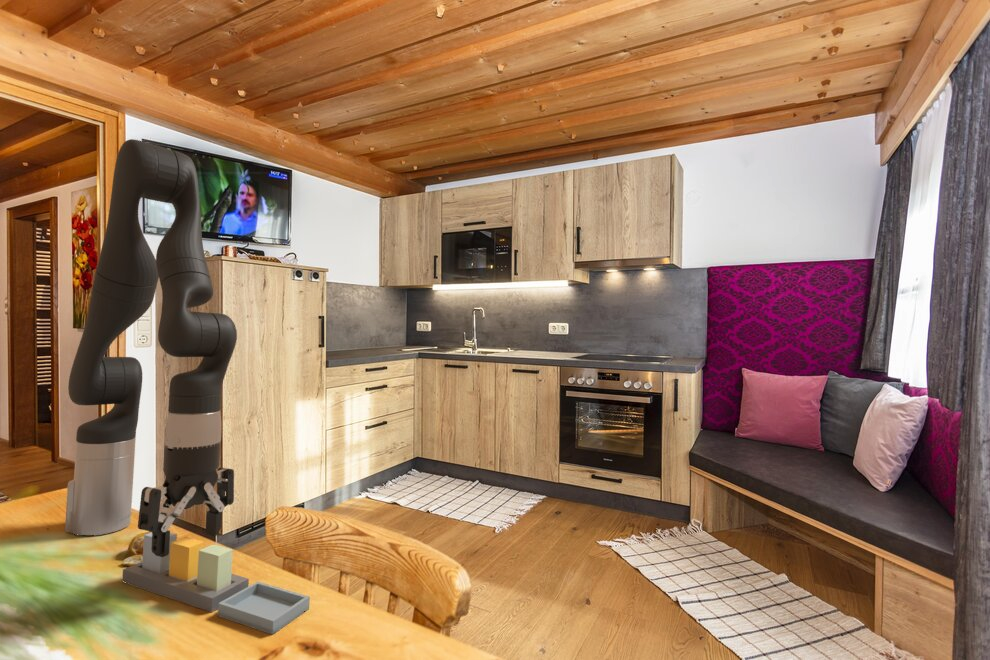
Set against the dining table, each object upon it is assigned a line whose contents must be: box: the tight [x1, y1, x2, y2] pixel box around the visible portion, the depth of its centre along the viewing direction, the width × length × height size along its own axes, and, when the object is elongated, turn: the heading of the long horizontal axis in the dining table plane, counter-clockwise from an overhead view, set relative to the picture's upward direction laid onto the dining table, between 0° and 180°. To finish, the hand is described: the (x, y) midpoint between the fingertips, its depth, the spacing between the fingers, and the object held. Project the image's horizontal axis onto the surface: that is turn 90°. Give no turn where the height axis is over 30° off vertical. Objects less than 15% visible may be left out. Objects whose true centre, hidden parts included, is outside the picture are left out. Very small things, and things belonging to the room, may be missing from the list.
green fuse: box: [197, 544, 234, 592], centre depth 76 cm, size 4×2×7 cm, turn 69°
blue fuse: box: [142, 532, 178, 574], centre depth 80 cm, size 4×2×7 cm, turn 69°
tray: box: [217, 581, 311, 635], centre depth 73 cm, size 10×7×2 cm
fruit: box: [121, 531, 151, 567], centre depth 88 cm, size 8×8×4 cm
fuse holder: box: [121, 562, 250, 613], centre depth 78 cm, size 19×6×2 cm, turn 69°
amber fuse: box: [169, 536, 205, 582], centre depth 78 cm, size 4×2×7 cm, turn 69°
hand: (187, 544), depth 78 cm, fingers open, 8 cm apart
